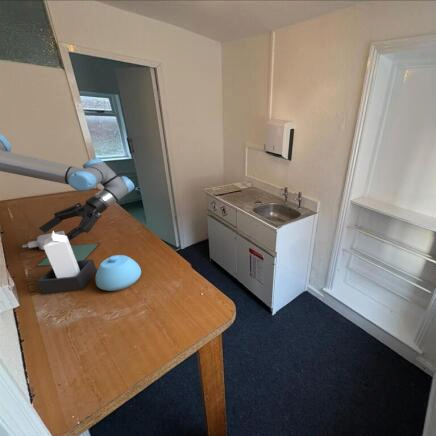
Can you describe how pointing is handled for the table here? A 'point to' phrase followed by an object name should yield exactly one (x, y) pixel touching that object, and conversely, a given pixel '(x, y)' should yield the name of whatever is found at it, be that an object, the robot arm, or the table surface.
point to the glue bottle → (41, 240)
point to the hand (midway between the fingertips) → (51, 236)
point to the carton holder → (68, 279)
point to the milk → (61, 256)
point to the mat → (75, 253)
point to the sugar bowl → (117, 273)
